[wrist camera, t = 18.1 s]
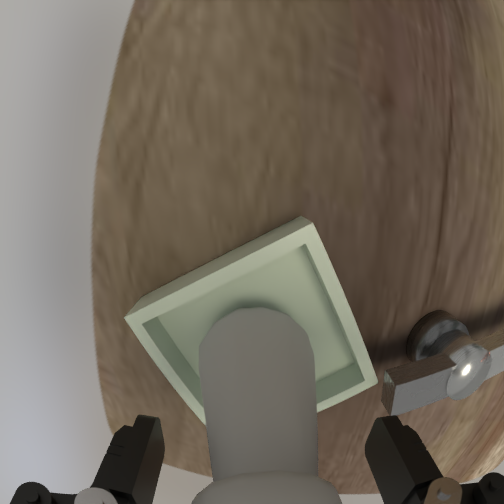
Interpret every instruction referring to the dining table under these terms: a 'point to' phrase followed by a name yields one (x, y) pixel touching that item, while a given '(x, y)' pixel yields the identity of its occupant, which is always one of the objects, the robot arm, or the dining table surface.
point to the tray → (258, 295)
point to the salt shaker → (261, 411)
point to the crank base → (430, 333)
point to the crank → (444, 371)
